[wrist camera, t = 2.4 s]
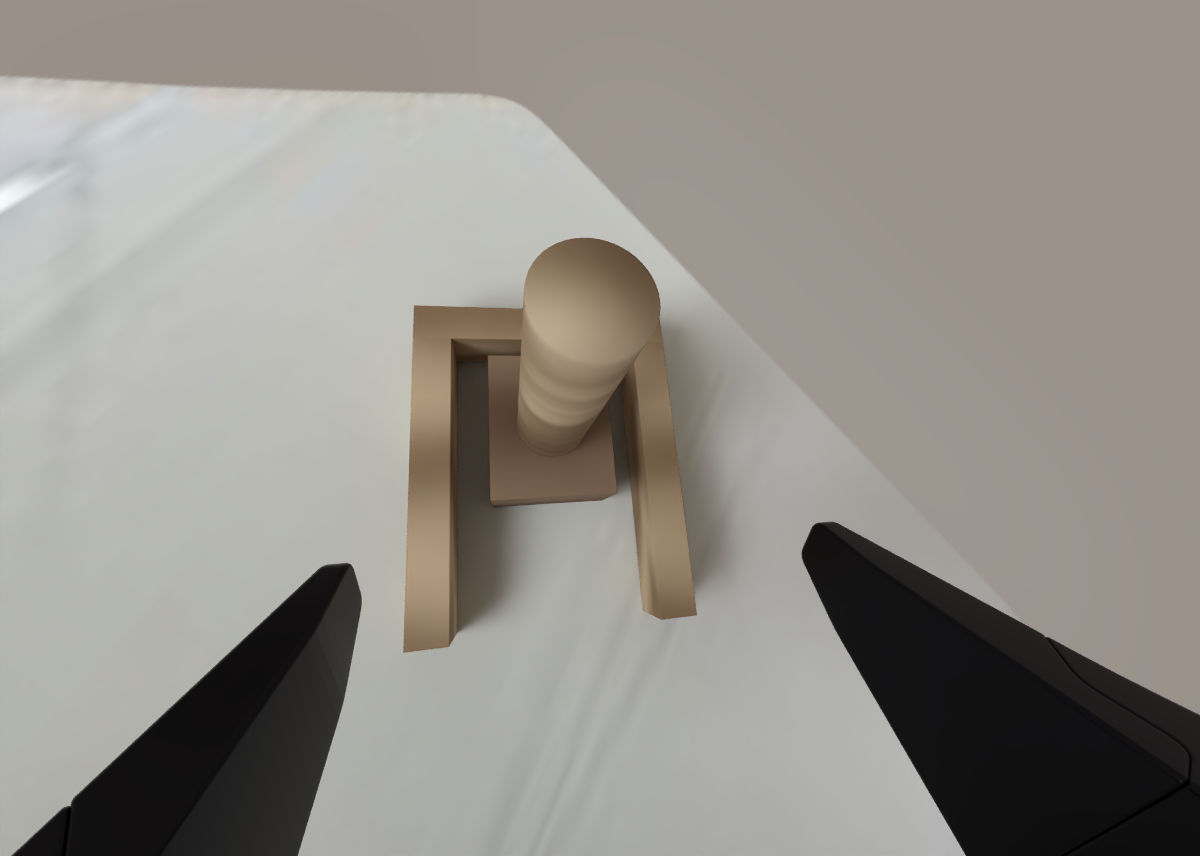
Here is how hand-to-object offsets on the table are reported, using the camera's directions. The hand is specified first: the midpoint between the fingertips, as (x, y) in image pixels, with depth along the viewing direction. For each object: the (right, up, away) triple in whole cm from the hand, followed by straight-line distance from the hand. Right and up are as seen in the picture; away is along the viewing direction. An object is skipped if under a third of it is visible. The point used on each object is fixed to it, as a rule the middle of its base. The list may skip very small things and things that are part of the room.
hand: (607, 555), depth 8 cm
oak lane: (-3, 0, +12) cm, 12 cm away
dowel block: (-3, +2, +12) cm, 13 cm away
